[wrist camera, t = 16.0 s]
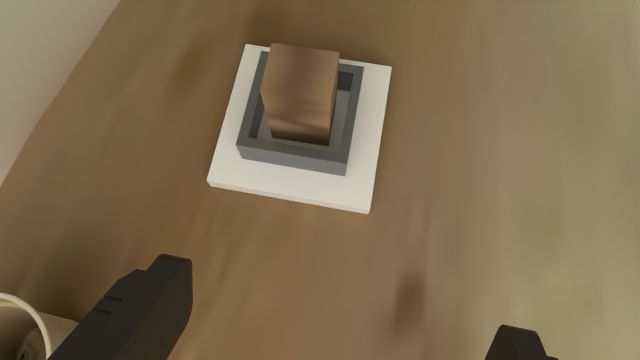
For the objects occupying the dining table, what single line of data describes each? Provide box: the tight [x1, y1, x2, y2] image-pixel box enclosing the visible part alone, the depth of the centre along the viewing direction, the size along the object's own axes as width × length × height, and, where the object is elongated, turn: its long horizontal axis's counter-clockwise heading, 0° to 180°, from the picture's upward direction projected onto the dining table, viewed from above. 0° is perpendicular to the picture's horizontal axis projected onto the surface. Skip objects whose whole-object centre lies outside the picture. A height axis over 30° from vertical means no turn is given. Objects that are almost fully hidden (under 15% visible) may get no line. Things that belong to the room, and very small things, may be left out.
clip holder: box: [207, 44, 392, 214], centre depth 37 cm, size 14×14×4 cm
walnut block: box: [260, 43, 339, 146], centre depth 34 cm, size 5×4×8 cm
